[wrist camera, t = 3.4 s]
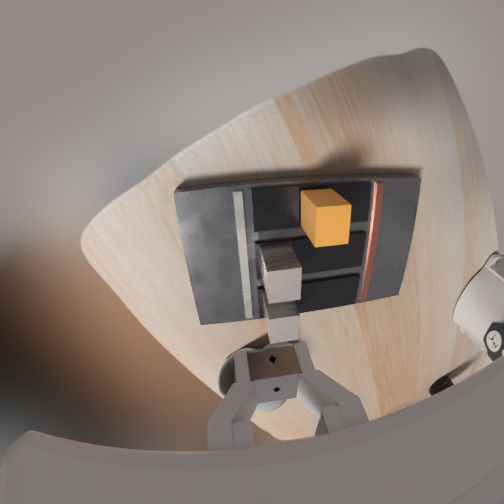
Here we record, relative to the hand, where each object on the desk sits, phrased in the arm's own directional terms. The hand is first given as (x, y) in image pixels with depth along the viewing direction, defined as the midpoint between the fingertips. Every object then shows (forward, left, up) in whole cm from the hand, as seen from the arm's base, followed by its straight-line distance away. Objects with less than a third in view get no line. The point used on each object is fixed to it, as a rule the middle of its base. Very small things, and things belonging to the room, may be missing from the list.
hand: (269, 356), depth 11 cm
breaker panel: (-7, +5, -19) cm, 21 cm away
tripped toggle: (-7, 0, -16) cm, 18 cm away
